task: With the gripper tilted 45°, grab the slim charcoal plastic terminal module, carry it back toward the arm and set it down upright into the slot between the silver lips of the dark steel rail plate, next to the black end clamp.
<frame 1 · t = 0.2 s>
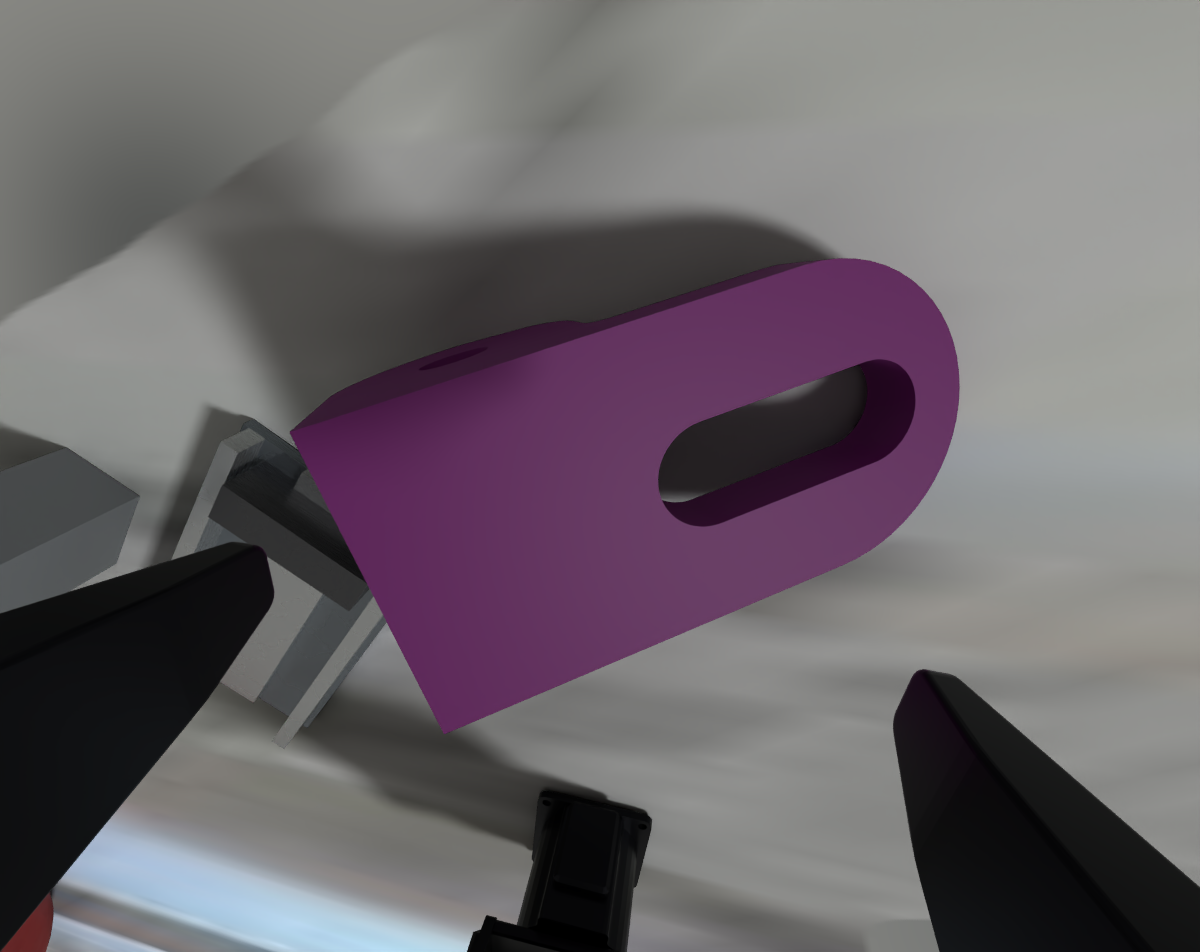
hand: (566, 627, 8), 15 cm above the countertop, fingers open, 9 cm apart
terminal module: (92, 508, 29), on the countertop
mounting bracket: (665, 420, 22), on the countertop
rail plate: (287, 590, 29), on the countertop
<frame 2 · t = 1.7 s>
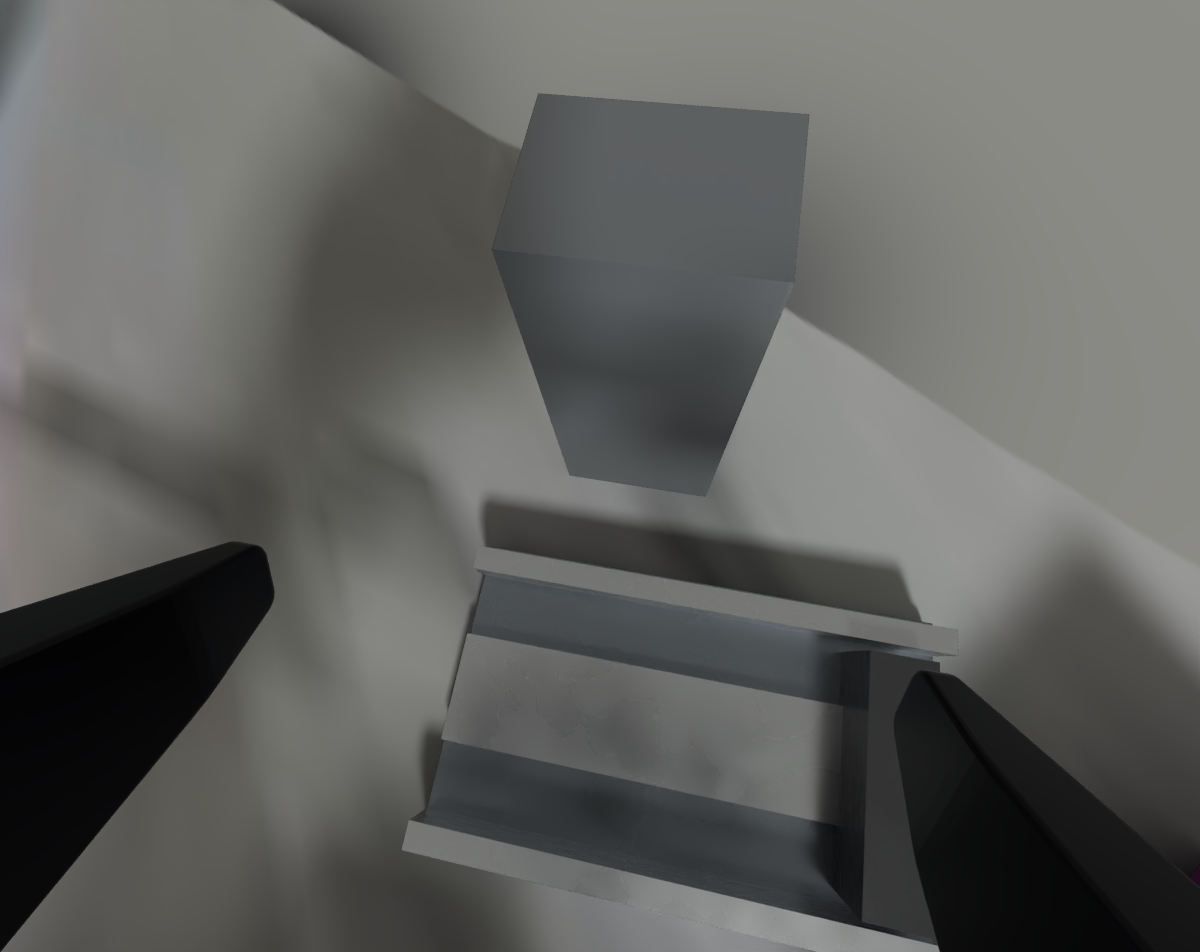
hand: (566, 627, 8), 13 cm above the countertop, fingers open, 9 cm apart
terminal module: (644, 440, 23), on the countertop
rail plate: (682, 728, 19), on the countertop
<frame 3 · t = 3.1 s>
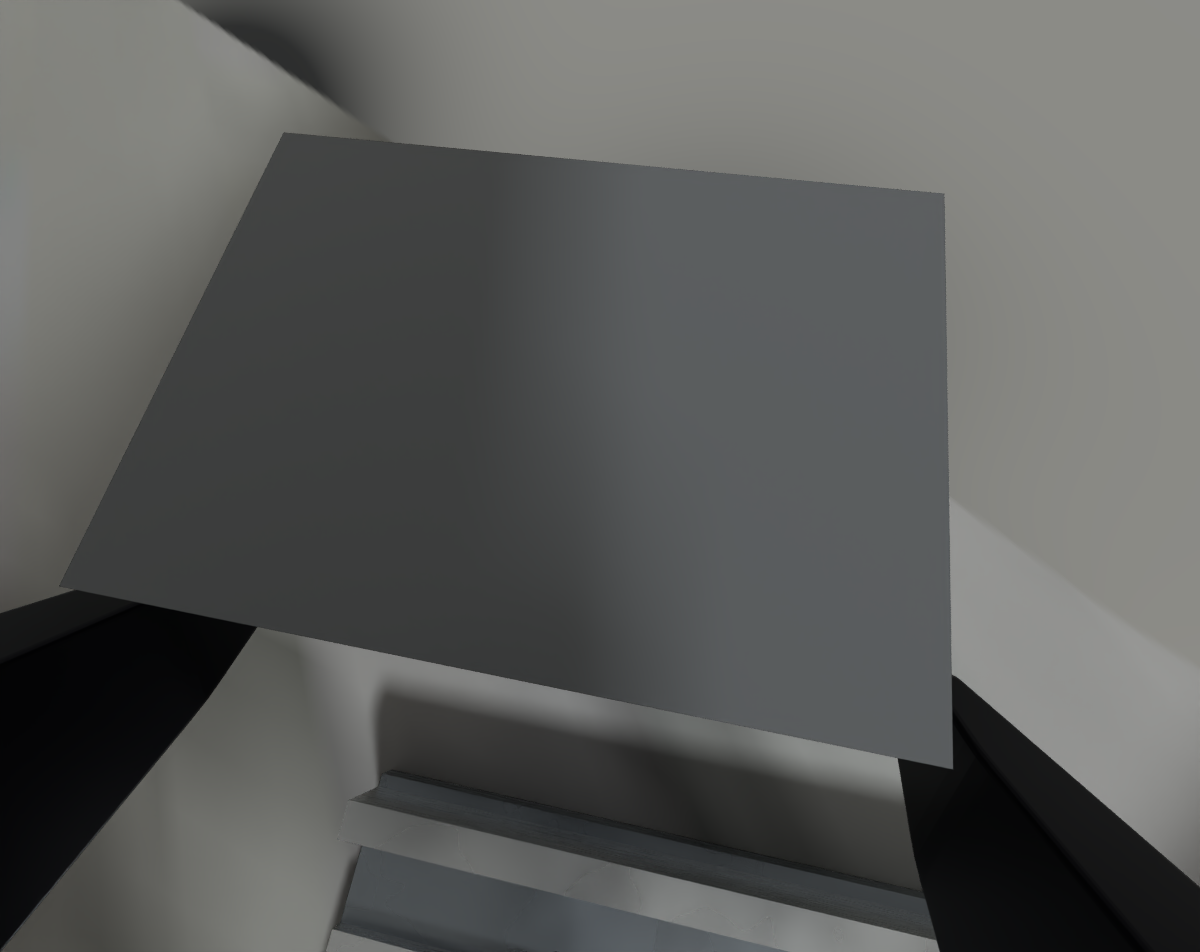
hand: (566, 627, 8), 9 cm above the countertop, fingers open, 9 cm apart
terminal module: (610, 599, 16), on the countertop
when the fingers open (9 cm above the countertop, at t = 9.8 s): terminal module drops 1 cm, resting on rail plate.
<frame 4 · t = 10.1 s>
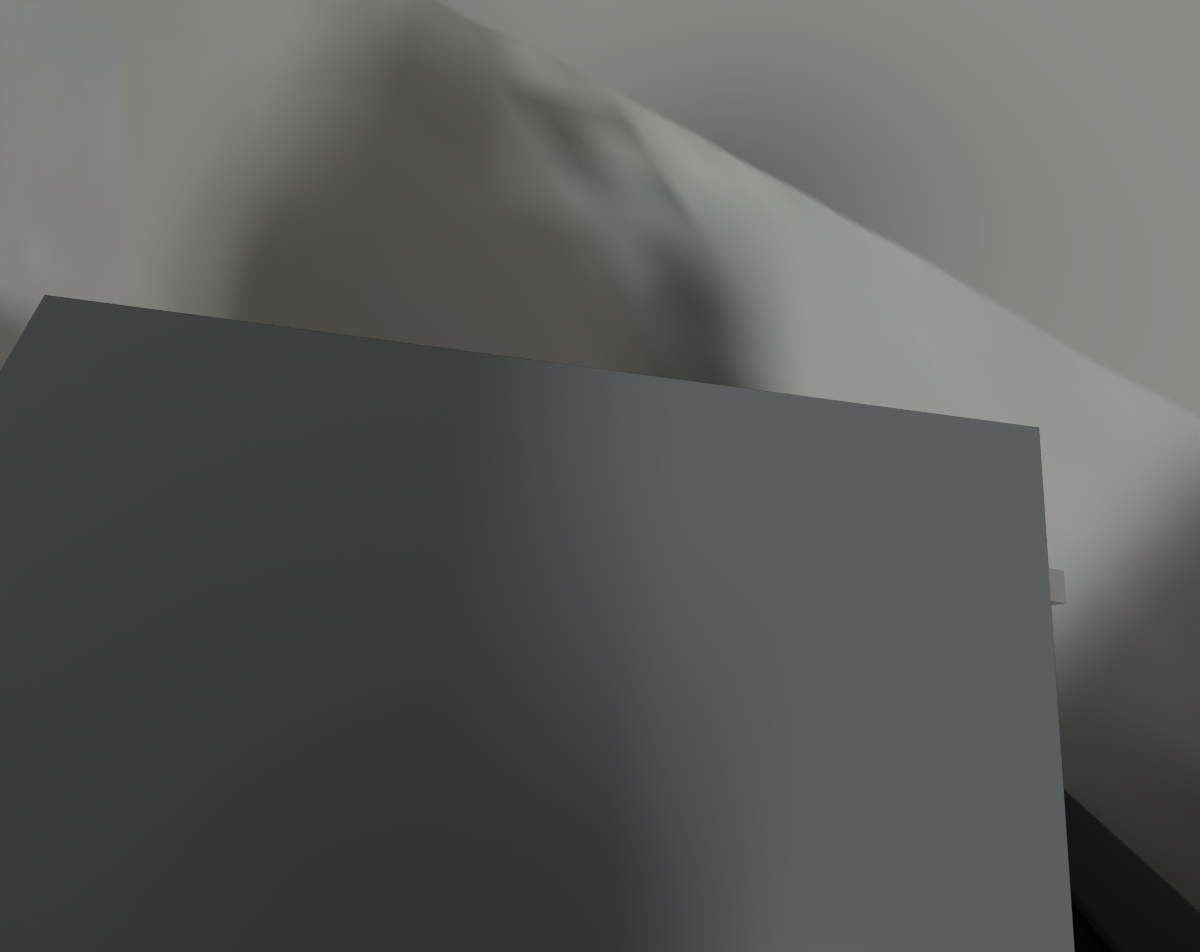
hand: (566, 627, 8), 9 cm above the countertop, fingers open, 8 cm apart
terminal module: (592, 680, 15), point 1 cm above the countertop, touching rail plate
rail plate: (703, 701, 15), on the countertop
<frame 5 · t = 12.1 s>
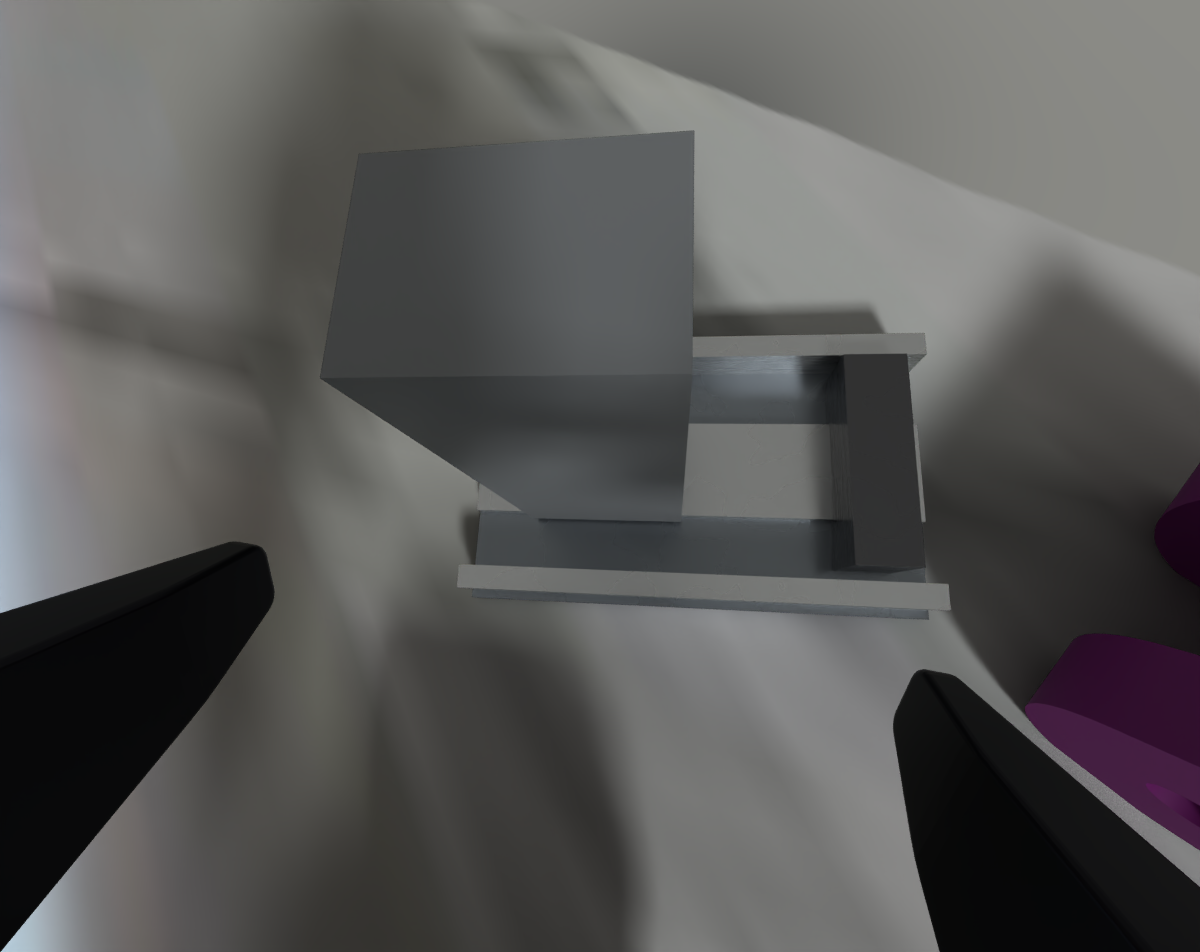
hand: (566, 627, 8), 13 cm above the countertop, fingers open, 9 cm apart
terminal module: (608, 467, 21), point 1 cm above the countertop, touching rail plate
rail plate: (688, 475, 21), on the countertop
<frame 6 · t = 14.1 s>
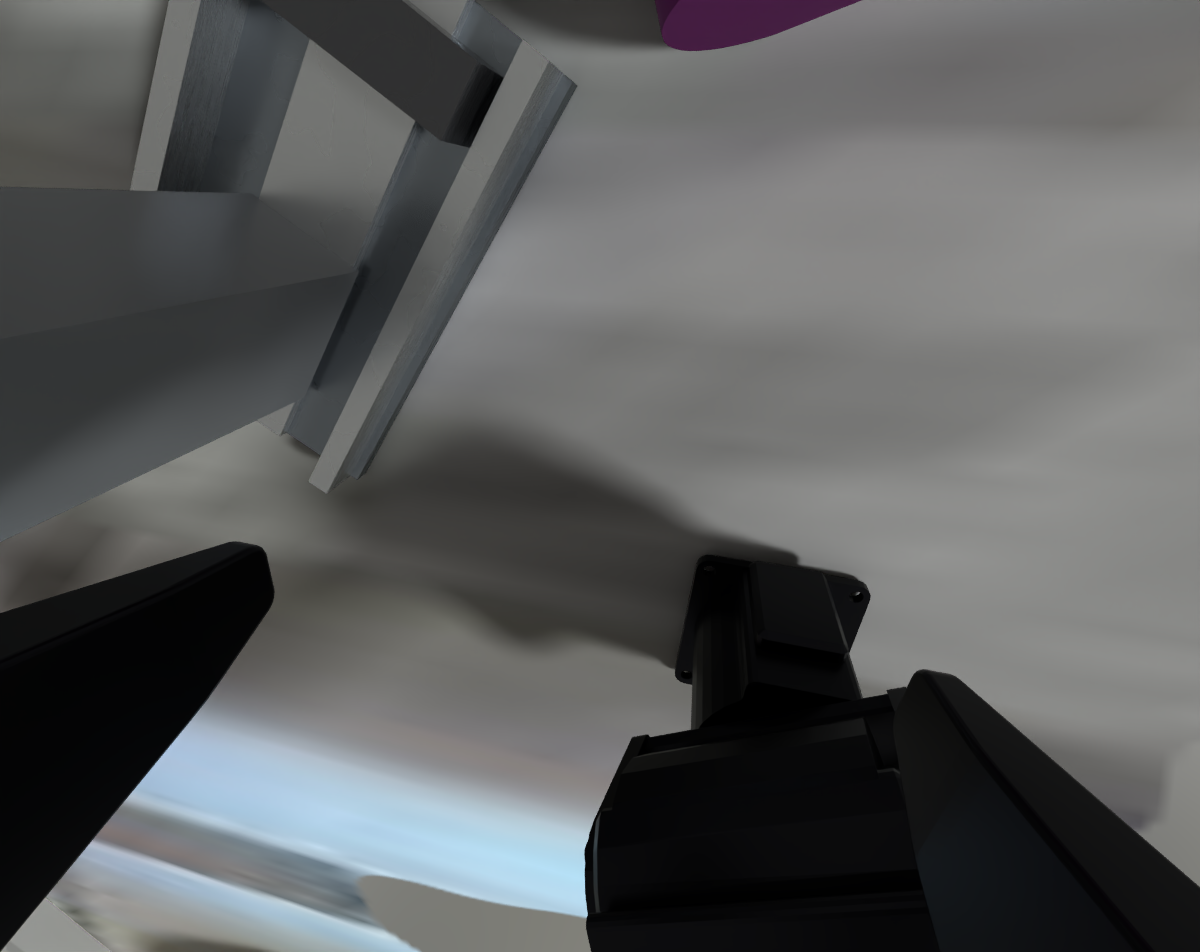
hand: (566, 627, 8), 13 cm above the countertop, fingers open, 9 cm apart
terminal module: (279, 303, 19), point 1 cm above the countertop, touching rail plate
rail plate: (327, 224, 19), on the countertop
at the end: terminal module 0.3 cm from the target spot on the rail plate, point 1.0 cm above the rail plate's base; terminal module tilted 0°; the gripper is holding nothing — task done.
